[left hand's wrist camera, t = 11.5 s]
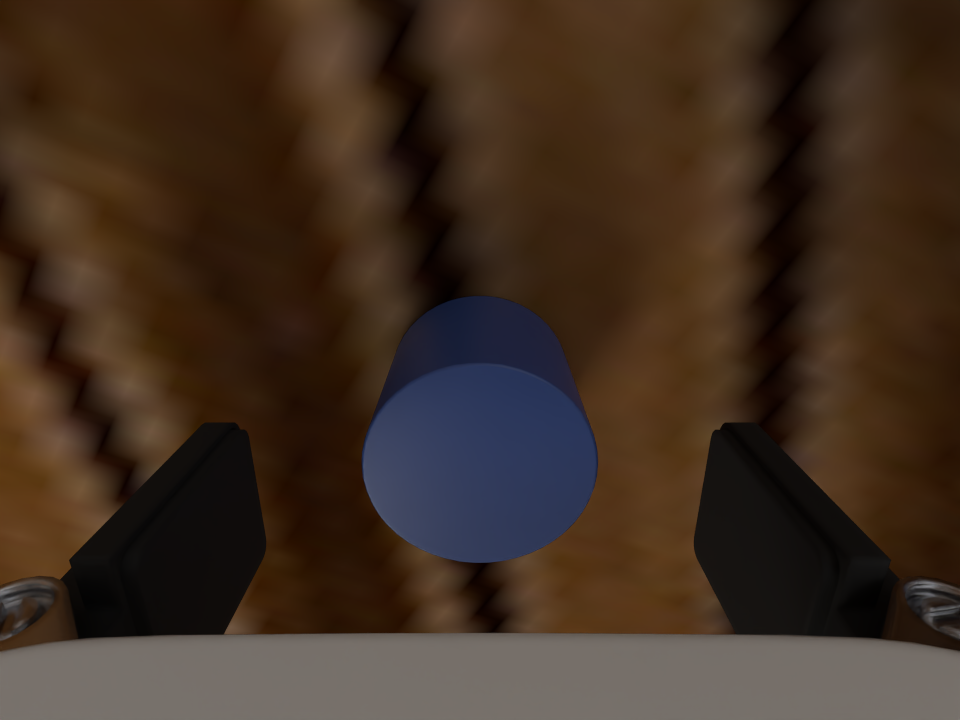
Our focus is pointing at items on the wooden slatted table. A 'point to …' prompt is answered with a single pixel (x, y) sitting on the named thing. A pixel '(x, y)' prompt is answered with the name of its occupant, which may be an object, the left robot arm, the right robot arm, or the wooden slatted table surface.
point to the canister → (479, 435)
